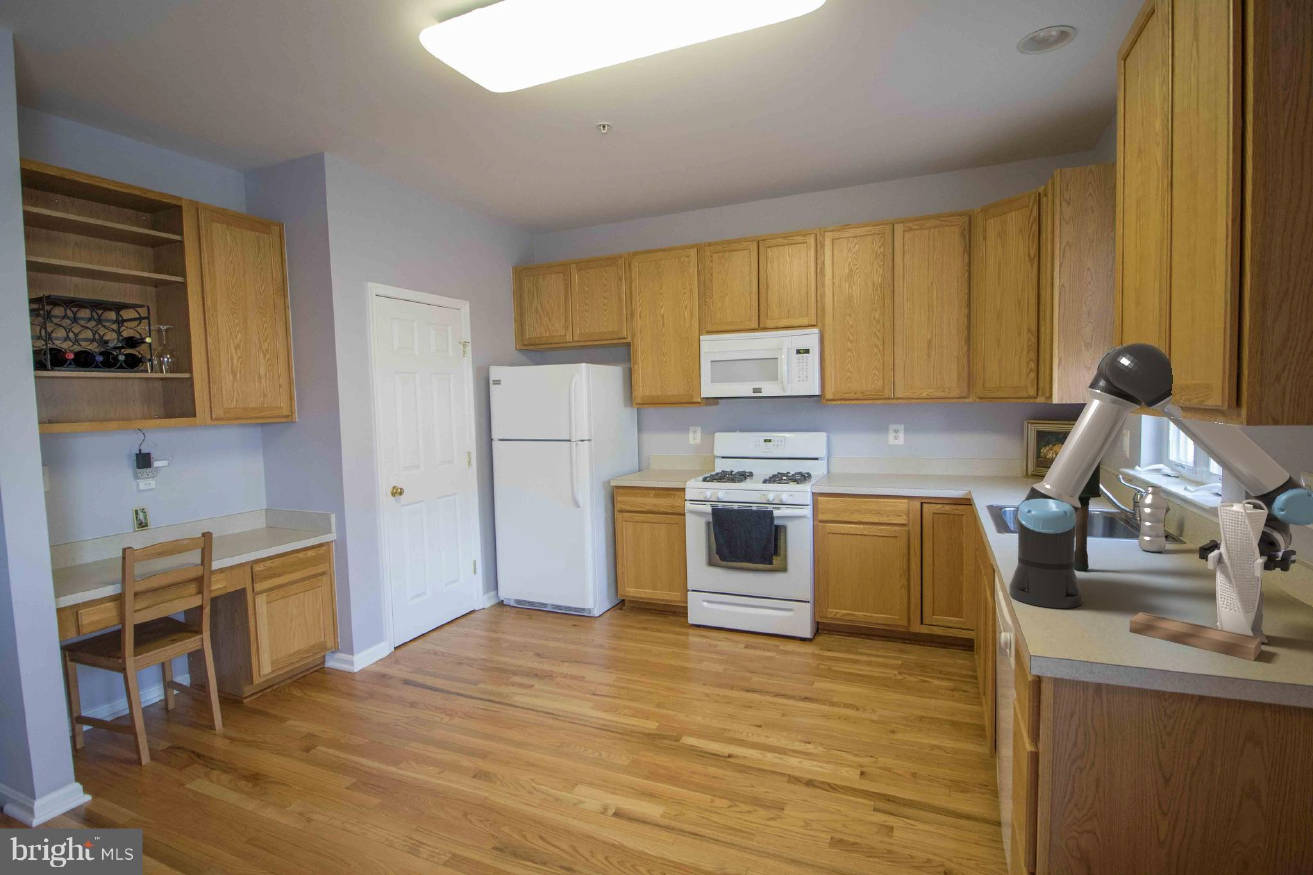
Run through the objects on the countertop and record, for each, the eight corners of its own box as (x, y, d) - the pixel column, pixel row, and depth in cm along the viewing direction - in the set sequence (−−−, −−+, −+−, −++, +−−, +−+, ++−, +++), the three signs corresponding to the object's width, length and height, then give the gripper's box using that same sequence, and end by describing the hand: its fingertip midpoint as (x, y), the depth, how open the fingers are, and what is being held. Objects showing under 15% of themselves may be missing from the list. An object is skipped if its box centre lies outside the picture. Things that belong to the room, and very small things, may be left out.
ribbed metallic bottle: (1163, 555, 188) (1165, 489, 187) (1135, 551, 193) (1137, 486, 192) (1167, 551, 193) (1169, 486, 191) (1140, 547, 198) (1142, 484, 196)
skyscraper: (1268, 645, 122) (1278, 502, 119) (1213, 635, 126) (1220, 498, 124) (1261, 631, 128) (1270, 495, 126) (1208, 622, 133) (1216, 491, 131)
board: (1129, 631, 131) (1129, 619, 131) (1140, 623, 135) (1140, 611, 135) (1253, 660, 116) (1254, 646, 116) (1261, 650, 121) (1261, 637, 120)
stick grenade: (1106, 574, 171) (1109, 464, 169) (1074, 574, 171) (1077, 465, 169) (1086, 565, 180) (1088, 461, 177) (1055, 566, 180) (1057, 461, 178)
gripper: (1320, 571, 130) (1302, 595, 116) (1199, 554, 145) (1171, 574, 131) (1321, 535, 130) (1304, 555, 115) (1200, 522, 145) (1172, 538, 131)
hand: (1233, 565), depth 123 cm, fingers closed on skyscraper, 6 cm apart
